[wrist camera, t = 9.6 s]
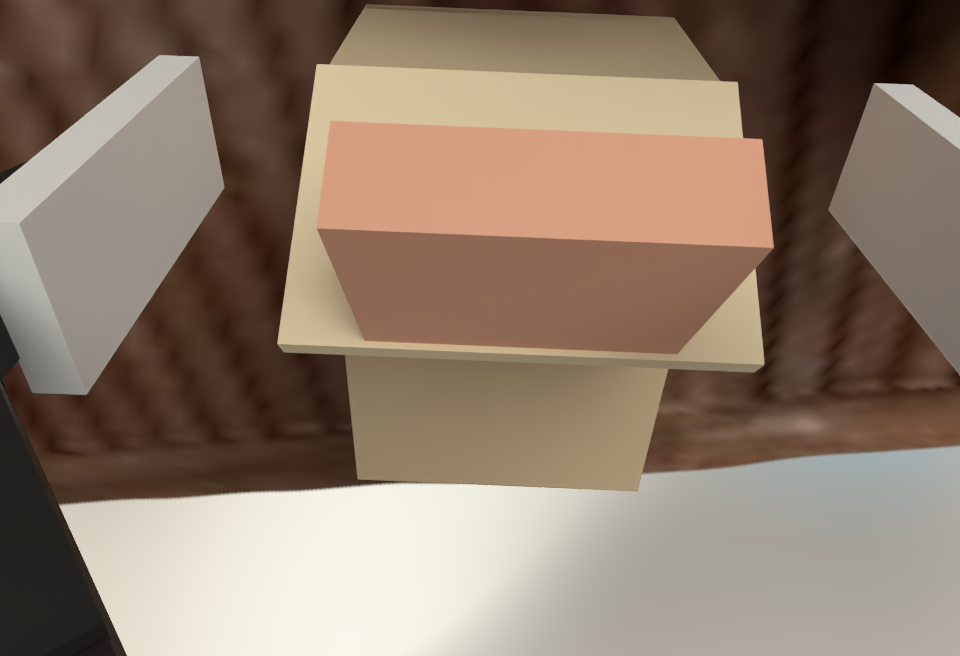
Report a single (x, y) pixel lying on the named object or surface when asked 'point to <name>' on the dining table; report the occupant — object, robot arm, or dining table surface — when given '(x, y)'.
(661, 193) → the flap
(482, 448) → the carton
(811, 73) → the dining table surface
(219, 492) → the dining table surface
